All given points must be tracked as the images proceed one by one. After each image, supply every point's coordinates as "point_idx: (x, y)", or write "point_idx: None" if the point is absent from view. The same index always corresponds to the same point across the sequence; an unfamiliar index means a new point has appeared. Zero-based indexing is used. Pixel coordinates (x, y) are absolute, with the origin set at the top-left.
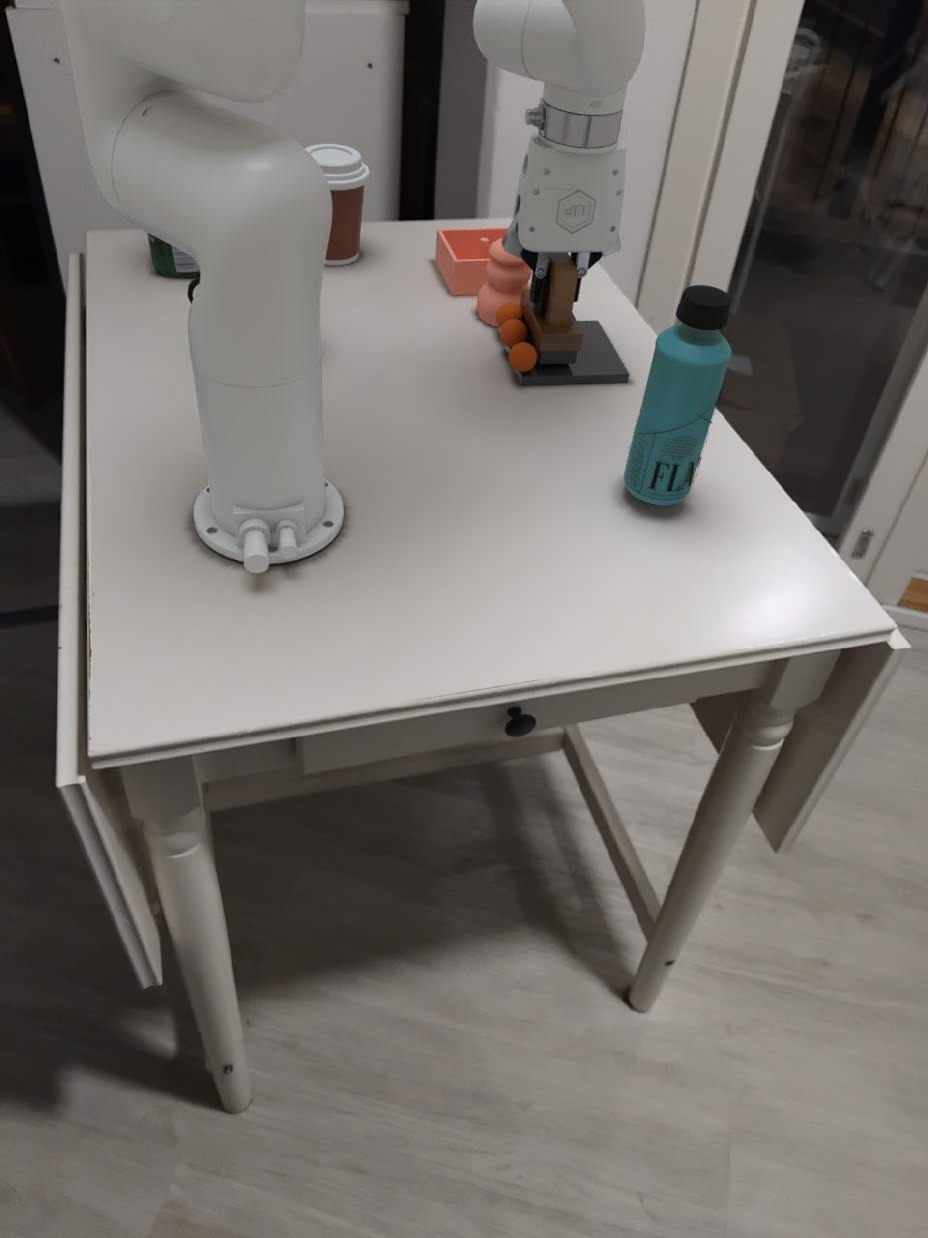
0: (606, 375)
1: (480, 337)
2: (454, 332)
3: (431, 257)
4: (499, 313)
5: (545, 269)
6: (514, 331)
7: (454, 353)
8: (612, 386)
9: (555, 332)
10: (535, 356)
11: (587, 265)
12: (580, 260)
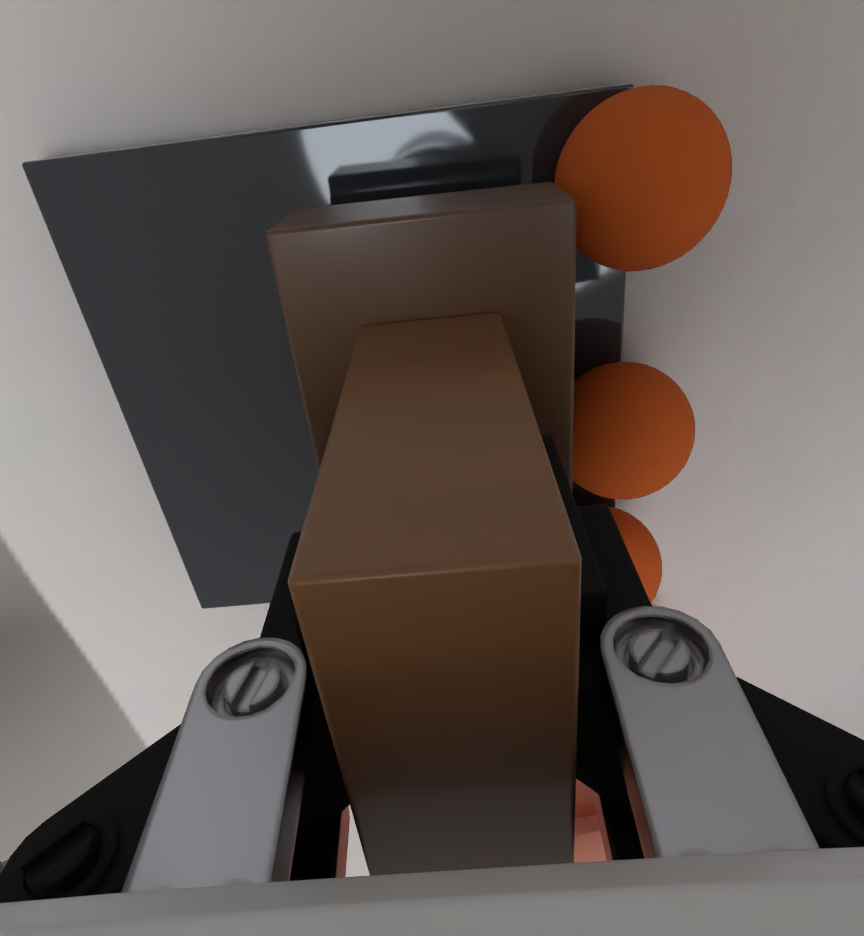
0: (150, 145)
1: (687, 500)
2: (780, 526)
3: None
4: (660, 563)
5: (627, 674)
6: (648, 396)
7: (846, 375)
8: (125, 110)
9: (471, 235)
10: (583, 139)
11: (182, 740)
12: (254, 785)
